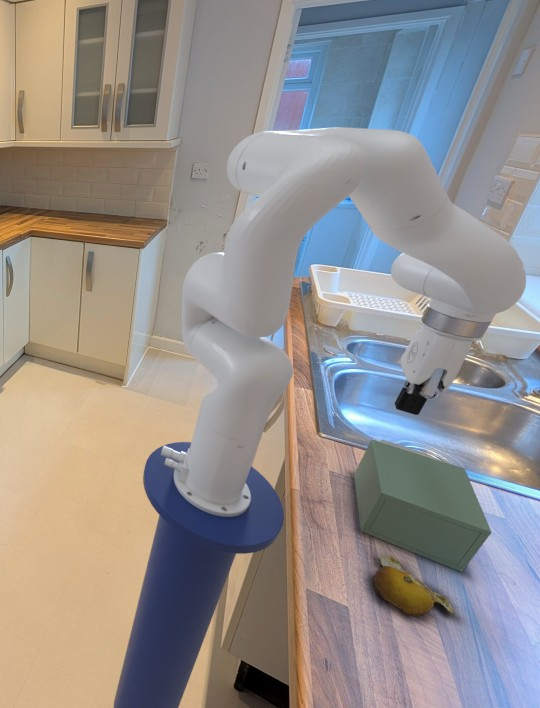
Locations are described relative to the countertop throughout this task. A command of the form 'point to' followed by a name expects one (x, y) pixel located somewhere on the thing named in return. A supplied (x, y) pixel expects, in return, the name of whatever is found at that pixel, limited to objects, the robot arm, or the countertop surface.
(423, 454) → the drawer
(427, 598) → the fruit
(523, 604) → the countertop surface
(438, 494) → the cabinet
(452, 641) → the countertop surface
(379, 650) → the countertop surface
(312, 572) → the countertop surface
